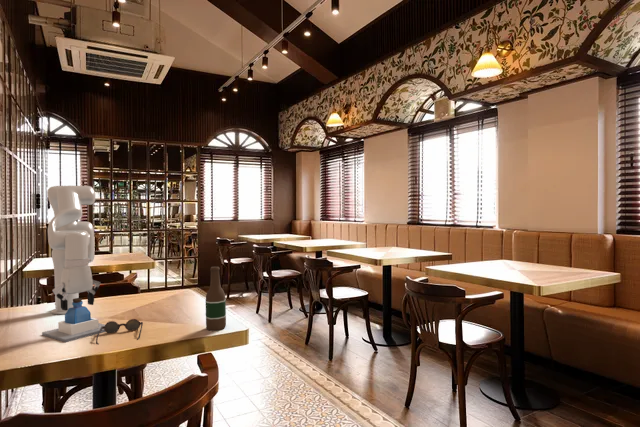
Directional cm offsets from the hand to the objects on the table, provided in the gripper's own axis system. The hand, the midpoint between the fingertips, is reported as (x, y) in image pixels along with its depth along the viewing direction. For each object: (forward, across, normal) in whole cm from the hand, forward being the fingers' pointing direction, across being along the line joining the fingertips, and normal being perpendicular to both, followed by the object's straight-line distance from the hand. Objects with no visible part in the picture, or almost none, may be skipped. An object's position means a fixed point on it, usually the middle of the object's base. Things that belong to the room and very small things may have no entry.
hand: (78, 307), depth 157 cm
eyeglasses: (+10, -5, +21) cm, 24 cm away
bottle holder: (+10, 0, +1) cm, 10 cm away
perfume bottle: (+9, 0, +1) cm, 9 cm away
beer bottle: (+9, -30, +45) cm, 54 cm away
